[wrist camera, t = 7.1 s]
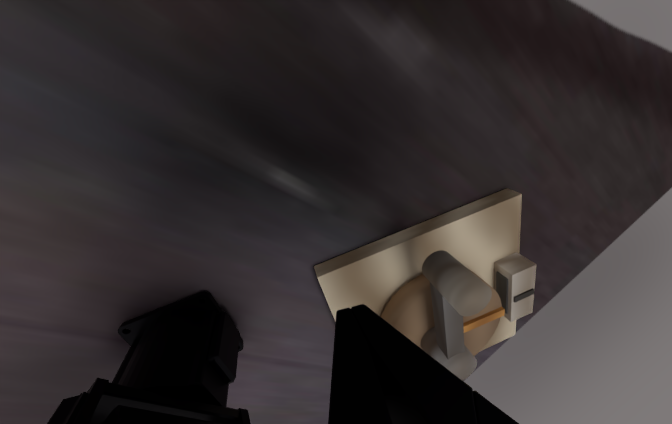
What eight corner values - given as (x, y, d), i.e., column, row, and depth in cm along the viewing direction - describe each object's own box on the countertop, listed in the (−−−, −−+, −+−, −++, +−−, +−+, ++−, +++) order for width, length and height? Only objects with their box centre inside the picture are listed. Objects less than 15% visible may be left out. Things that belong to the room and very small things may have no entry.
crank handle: (388, 375, 26) (425, 456, 20) (355, 250, 19) (396, 318, 13) (484, 332, 28) (545, 397, 22) (485, 201, 21) (575, 243, 15)
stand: (364, 389, 29) (377, 426, 26) (313, 266, 21) (323, 296, 18) (504, 324, 31) (532, 350, 28) (506, 188, 23) (547, 203, 20)
